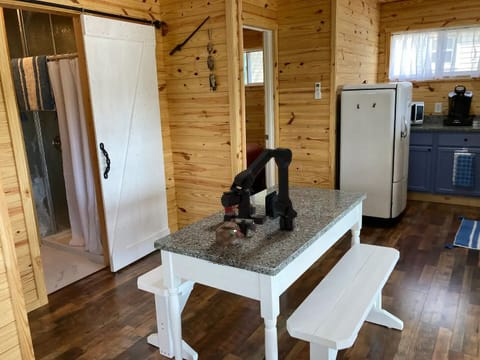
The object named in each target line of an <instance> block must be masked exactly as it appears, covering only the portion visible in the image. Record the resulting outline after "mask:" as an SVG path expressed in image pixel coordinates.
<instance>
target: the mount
mask: <svg viewBox="0 0 480 360" xmlns="http://www.w3.org/2000/svg"><path fill="white" fill-rule="evenodd" d="M235 223H236V219H231V221H230V222H226V221H225V222H224V223H223V224H222V225H220V226H219V227H218V228H216V229H215V243H216V245H224V246H229V245H231V244H232V243H233V242H234V241H236V240H237V239H238V238H237V237H236V236H234V235H231V232H230V230H233V231H237V230H238V229H240V228H239V226H238V225H237V224H235Z"/></svg>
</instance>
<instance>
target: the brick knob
mask: <svg viewBox="0 0 480 360" xmlns="http://www.w3.org/2000/svg"><path fill="white" fill-rule="evenodd" d="M230 232H231V235H234V236H236V237H237V238H236V239H243V238H244V237H245V236H244V235H243V233H242V231H241V229H238V230H237V231H233V230H230Z"/></svg>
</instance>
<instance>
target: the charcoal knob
mask: <svg viewBox="0 0 480 360" xmlns="http://www.w3.org/2000/svg"><path fill="white" fill-rule="evenodd" d="M257 227H258V225H257V224H255V223H252V224H251V225H250V228H249V232H256V231H257Z"/></svg>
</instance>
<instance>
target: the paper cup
mask: <svg viewBox="0 0 480 360" xmlns="http://www.w3.org/2000/svg"><path fill="white" fill-rule="evenodd" d="M237 206H238V205H236V206H232V207H228V208H224V207H223V208H224V215H225V214H227V213H228V212H235V213H236V215H238V209H237Z"/></svg>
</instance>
